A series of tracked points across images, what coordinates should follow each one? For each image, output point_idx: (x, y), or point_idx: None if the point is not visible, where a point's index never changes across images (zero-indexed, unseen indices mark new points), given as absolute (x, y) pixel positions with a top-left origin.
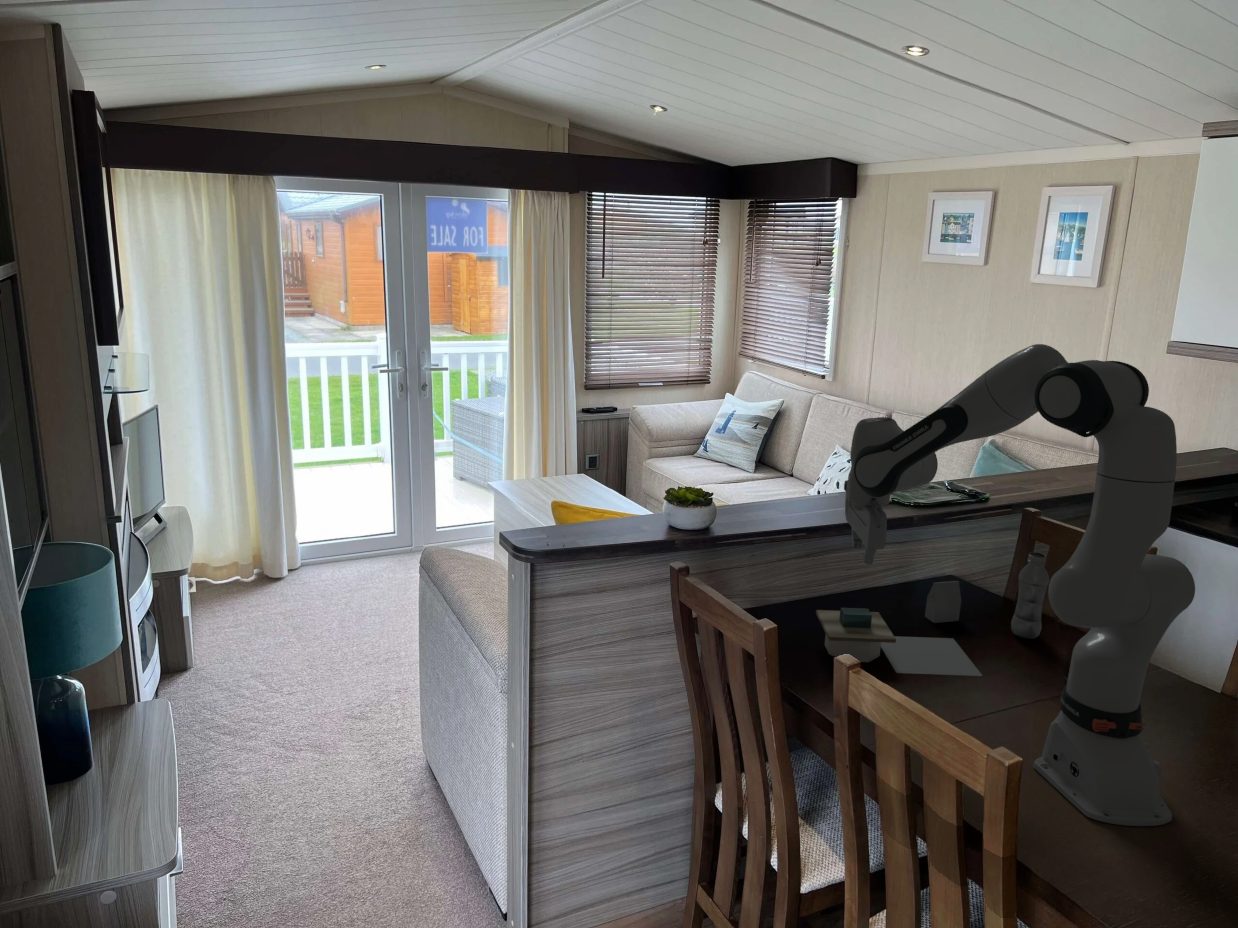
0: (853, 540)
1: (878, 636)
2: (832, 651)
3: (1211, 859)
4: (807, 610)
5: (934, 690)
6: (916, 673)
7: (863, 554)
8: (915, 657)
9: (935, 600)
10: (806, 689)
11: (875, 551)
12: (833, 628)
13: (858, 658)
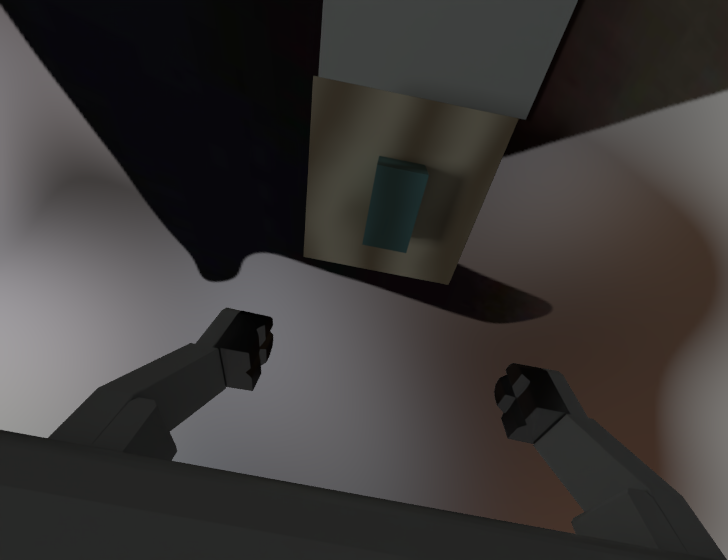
0: (236, 384)
1: (482, 168)
2: None
3: None
4: (182, 187)
5: (637, 44)
6: (551, 58)
7: (513, 435)
8: (467, 2)
9: None
10: (502, 307)
11: (656, 477)
12: (408, 260)
13: None
